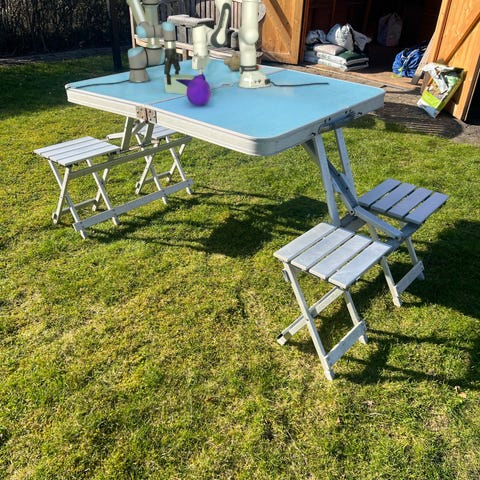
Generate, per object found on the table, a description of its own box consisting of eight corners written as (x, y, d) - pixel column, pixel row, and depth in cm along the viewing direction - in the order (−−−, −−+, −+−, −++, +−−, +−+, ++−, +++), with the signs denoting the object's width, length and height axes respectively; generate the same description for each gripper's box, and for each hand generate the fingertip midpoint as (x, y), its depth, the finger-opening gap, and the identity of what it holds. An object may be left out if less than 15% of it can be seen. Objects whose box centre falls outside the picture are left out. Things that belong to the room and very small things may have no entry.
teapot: (227, 73, 361) (227, 53, 353) (221, 70, 369) (220, 51, 362) (250, 70, 370) (250, 50, 362) (243, 68, 378) (242, 49, 371)
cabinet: (199, 90, 306) (198, 75, 301) (192, 94, 297) (191, 78, 292) (173, 89, 312) (172, 73, 307) (165, 92, 303) (164, 77, 298)
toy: (199, 96, 289) (211, 111, 269) (173, 92, 282) (183, 107, 261) (204, 71, 281) (217, 85, 261) (177, 66, 274) (188, 79, 253)
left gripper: (166, 50, 282) (170, 86, 293) (183, 46, 301) (186, 79, 312) (156, 50, 285) (160, 86, 296) (173, 45, 304) (176, 79, 315)
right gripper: (197, 54, 278) (199, 78, 285) (211, 50, 294) (212, 72, 301) (188, 54, 280) (190, 77, 287) (202, 49, 296) (203, 71, 303)
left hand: (173, 82), depth 304 cm, fingers closed on cabinet, 11 cm apart
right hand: (201, 74), depth 294 cm, fingers closed
